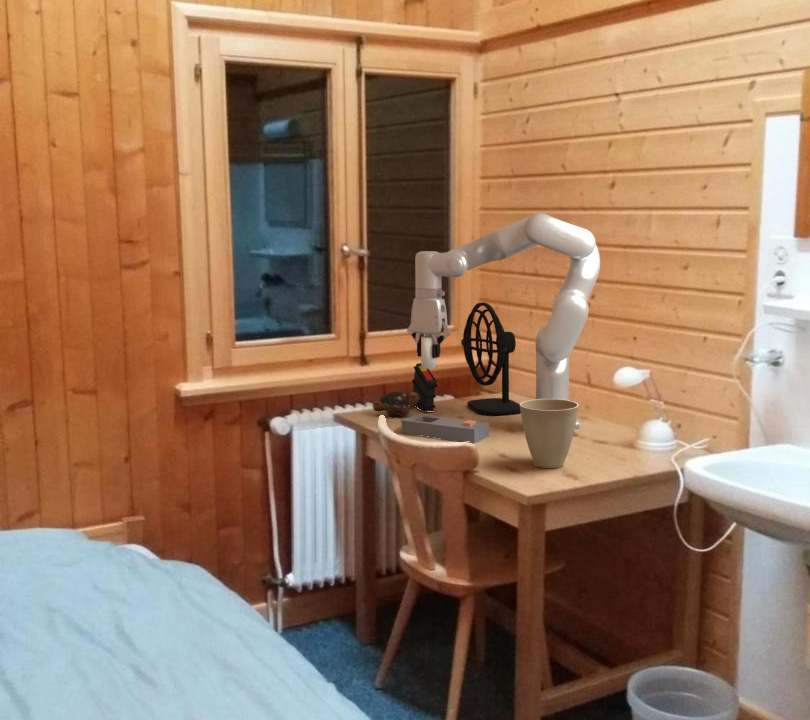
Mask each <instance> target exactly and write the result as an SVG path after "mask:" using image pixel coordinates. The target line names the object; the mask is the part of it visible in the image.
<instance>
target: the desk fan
mask: <svg viewBox="0 0 810 720" xmlns="http://www.w3.org/2000/svg"><path fill="white" fill-rule="evenodd" d="M482 306H483V307H485V308H486V309H483V310H481V309H479V308H481V307H482ZM487 312H488V313H489V314H490V316H491V319H492V320H490V322H489V320H488V317H487V316H486V313H487ZM476 313H478V314H479V317H477V322H476V321H474V317H475V314H476ZM482 320H483V321H484V325H485V326H486V333H485V335H486V336H485V338H486V339H485V338H482V333H481V331H480V327H481V323H482ZM473 325H474V327H475V337H472V331H473V330H472V328H473ZM492 325H494V328H495V335H496V336H495V337H496V338H495V340H493V336H492V330H491V326H492ZM462 335H463V336H462V339H461V341H460V342H461V343H460V344H461V346H462V348H463V353H464V358H465V361H466V363H467V366H468V367H469V370H470V373H471V375H472V376H473V379H474V380H475V381H476V382H477V383H478V384H480V385H482V386H491V385H493V384H494V383H495V381H496V380H497V378H498V377H499V375H500V373H501V397H491V398H481V399H479V398H476V399H472V400H468V401H467V403H466V406H467V408H469V407H470V408H469V409H471V410H474V411H475V412H477V413H478V414H482V415H489V416H490V415H491V416H495V415H496V416H498V415H509V414H519V413H521V411H520V403H518V402H516V401H514V400H512V399H510V388H509V387H510V368H509V367H510V354H511V353H514V352H515V350H516V345H517V343H516V341H517V340H516V336H515V334H514V333H513V332H512V331H505V329H504V326H503V325H502V323H501V321H500V318H499V317H498V314H497V313H496V311H495V309H494V308H493V307H492V305H491V304H489V303H488V302H484V301H483V302H477V303H475V305H474V306H473V308H472V310H471V311H470V313H469V314H468V317H467V319H466V323H465V326H464V330H463V334H462ZM472 342H475V346H472V345H473V344H472ZM483 343H485V346H486V348H483ZM494 345H495V346H496V349H494V348H493V346H494ZM473 351H475V352H476V357H477V363H476V364H475V361H474V356H473V355H474V354H473ZM483 353H487V356H488V362H487V367H486V368H485V366H484V364H483V360H482V359H483V358H482V355H483ZM493 354H497V355H496V363H495V362H494V360H493V357H494V356H493ZM492 366H494V371H493V373H492V374H491V375H490V371H491V369H492ZM479 367H480V369H481V372H482V373H483V375H481V376H480V374H479V372H478V370H477V368H479ZM485 378H488V379H487V380H486V381H484V380H483V379H485Z"/></svg>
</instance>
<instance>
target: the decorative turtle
mask: <svg viewBox="0 0 810 720" xmlns="http://www.w3.org/2000/svg"><path fill="white" fill-rule="evenodd" d="M419 399H420V397H419V395H418V393H415V392H413V391H410V392H408V393H407V394H406V393H405V392H401V391H391V392H388V393H386V394H384V395H382V396H381V397H380V398H379V400H378V401H375V402H373V403H372V409H373V411H375V412H384V411H385V412H386V414H387V417H388V418H390V417H392V418H394V416H395V415H396V414H399V416H400V417H401V418H402V417H406V418H407V417H408V415H409V413H410V410H412V409H413V408H415V406H416V405H417V403H418V400H419Z"/></svg>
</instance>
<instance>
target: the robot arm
mask: <svg viewBox="0 0 810 720" xmlns="http://www.w3.org/2000/svg"><path fill="white" fill-rule="evenodd" d="M536 246H537V247H538V246H541V247H542V248H544V249H545V248H546V249H548V250H551V251H554V252H557V253H559V254H563V255H565V256H568V257H569V266H568V270H567V273H566V275H565V277H564V279H563V282H562V284H561V287H560V288H559V291H558V292H557V294H556V296H555V297H554V300H553V302H552V312H551V314H550V317H549V319H548V322H547V324H546V325H544V326H542V327H541V328H540V329H539V330H538V332H537V333H536V337H535V363H536V364H535V372H536V373H535V399H562V400H569V401H570V355H571V353H572V352H573V350H574V348H575V346H576V344H577V342H578V339H579V337H580V336H581V333H582V331H583V329H584V327H585V324H586V321H587V320H588V316H589V313H590V312H589V304H588V301H589V300H590V299H589V298H590V297H591V295H592V292H593V290H594V287H595V285H596V282H597V280H598V277H599V274H600V271H601V255H600V251H599V248H598V246H597V243H596V238H595V236H594V234H593V233H592V232H591V230H588V229H586V228H584V227H581V226H578V225H575V224H572V223H568V222H567V221H564V220H561V219H558V218H556V217H553V216H551V215H549V214H545V213H542V212H540V213H539V212H538V213H535V214H533V215H532V214H531V215H530V216H527V217H525V218H523V219H520V220H518V221H515V222H512V223H511V224H508V225H506V226H503V227H501V228H498V229H496V230H494V231H491V232H489V233H487V234H486V235H484V236H481V237H480V238H477V239H475V240H472V241H469V242H467V243H465V244H463V245H460V246H457V247H455V248H453V249H451V250H449V251H446V252H439V251H435V250H434V251H433V250H430V251H429V250H425V251H424V250H423V251H422V250H421V251H419V252H417V253H416V254H415V262H414V263H415V266H414V267H415V274H414V275H415V298H413V303H412V306H411V317H410V324H409V326H408V328H407V329H406V332H407V333H408V334H409V335H410V336H411V337H412V338H413V340H414V342H415V343H416V354H417V357H420V358H421V337H422V336H425V333H426V334H432V336H433V340H434V344H433V345H432V357H433V358H436V359H437V358H440V356H441V344H442V343H443V341H444V340H445V339H447V338H448V337H449V336H451V334H452V333H451V331H450V329H449V328H448V327H449V326H448V314H447V306H446V302H445V301H446V300H445V299H444V298H443V297H444V296H445V295H446V292H445V290H444V291H443V289H442V286H443V285H442V280H443V279H442V277H446V278H453V279H454V278H456V279H457V278H459V277H462V276H463V275H465V274H466V272H467V271H470V270H472V269H475V268H477V267H479V266H482V265H485V264H487V263H490V262H496V261H502V260H506V259H508V258H511V257H513V256H515V255H518V254H521V253H523V252H524V251H528V250H529V249H532V248H534V247H536ZM582 426H583V425H582V422H581V421H578V420H576V425H575V430H582Z"/></svg>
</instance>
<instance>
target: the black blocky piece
mask: <svg viewBox="0 0 810 720" xmlns="http://www.w3.org/2000/svg"><path fill="white" fill-rule="evenodd" d="M413 369H414V373H413V374H414V376H413V379H411V382H412V384H413V385H412V386H413V387H412V392H415V393H418V395H419V397H420V399H419V400H418V403H417V405H416V407H418V408H419V409H421V410H423V411H426V412H427V411H435V409H436V405H435V398H436V397H437V395H436V394H435V392H436V388H438V384H437V379H436V378H435V377H434V375H433V374H432V372H431V369H424V368H421V362H420V363H418V362H417V363H416V365H414V366H413ZM419 409H418V410H419ZM421 410H420V411H421ZM423 411H422V412H423Z"/></svg>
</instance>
